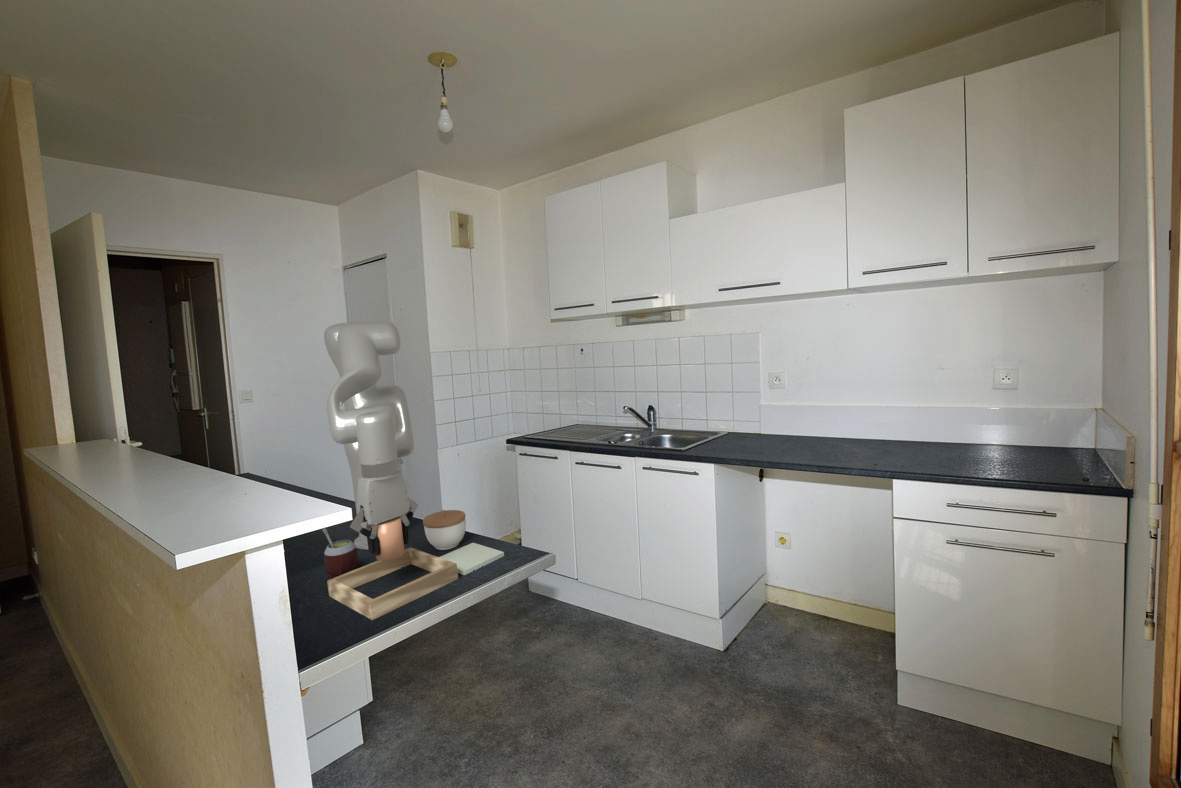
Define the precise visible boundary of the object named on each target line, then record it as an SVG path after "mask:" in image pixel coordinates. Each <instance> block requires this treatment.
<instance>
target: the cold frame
mask: <svg viewBox="0 0 1181 788" xmlns="http://www.w3.org/2000/svg"><path fill="white" fill-rule="evenodd" d="M439 557H440V556H437V555H433V554H430V553H428V552H425V551H422V550H419V549H416V548H413V547H409V548H406V549H405V553H404V555H402V556H401V557H399V558H396V559H393V560H388V561H380V560H376V561H373V562H370V563H368V564H366V565H363V566H361V567H359V568H358V567H357V569H355V570H353V571H350V572H348V573H345V574H343V575H340V576H338V577H335V578H333V579H330V580H329V579H328V580H327V581H326V582H327V583H326V584H327V590H328V596H329V598H332V599H333V600H336V601H337V602H339V603H341V604H342V605H344V606H346V607H348V608H349V609H351V610H353V611H355V612H356V613H358V614H361V615H362V616H364V617H366V618H368V619H369V620H370V621H374V620H376V619H378V618H380V617H382V616H384V615H386V614H388V613H391V612H393V611H395V610H396V609H399V608H401V607H403V606H405V605H407V604H409V603H411V602H413V601H416V600H417V599H419V598H421V597H424V596H425V595H428V594H430V593H431V592H434V591H436V590H438V589H440V588H443V587H444V586H446V585H448V584H451V583H453V582H454V581H456V580H459V573H458V571H457V564H456V563H453V562H450V561H447V560H445V559H442V558H439ZM410 565H412V566H415V567H418V568H420V569H423V570H426V571H428V572H429V573H427V574H425V575H423V576H420V577H419V578H416V579H414V580H412V581H410V582H408V583H405V584H404V585H401V586H399V587H396V588H394V589H392V590H389V591H388V592H385V593H383V594H381V595H379V596H377V597H375V598H374V597H373V598H372V597H370V596H367V595H366V594H364V593H362V592H360V591H358V590H356V589H355V588H358V587H360V586H363V585H364V584H367V583H369V582H371V581H374V580H377V579H379V578H381V577H383V576H386V575H388V574H391V573H393V572H396V571H397V570H400V569H403V568H405V567H407V566H410ZM402 567H403V568H402Z"/></svg>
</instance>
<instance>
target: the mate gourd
mask: <svg viewBox="0 0 1181 788" xmlns="http://www.w3.org/2000/svg"><path fill="white" fill-rule="evenodd" d="M322 533H324V534H325V537H326V539H327V541H328V542H329V544H328V545H327V546H326V548H325V550H324V554H323V562H324V566H325V570H326V572H327V575H328V576H329V577H328V580H330V579H333V578H335V577H338V576H340V575H343V574H345V573H348V572H350V571H353V570H355V569H358V565H359V558H358V557H359V556H358V550H357V549H358V548H356V547H355V544H354V542H353V541H351V540H349V539H341V540H337V541H332V539H331V537H330V535H329V531H328V529H327V528H325V527H324V528H323V529H322Z"/></svg>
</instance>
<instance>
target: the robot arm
mask: <svg viewBox="0 0 1181 788" xmlns="http://www.w3.org/2000/svg"><path fill="white" fill-rule="evenodd" d="M323 333H324V334H323V338H324V343H325V344H324V345H325V347H326V350H327V353H328V356H329V357H330V358H329V359H331V361H332V363H333V365H334V367H335V368H336V370H337V372H338V375H339V377H340V378H339V379H338V380H337V381H336V382H335V383H334V385H333V386H332V388H331V389H330V392H329V394H328V397H327V403H326V410H327V411H326V412H327V418H328V419H327V421H328V426H329V431H330V436H331V437H332V439H333V441H334V442H336V443H337V444H340V445H343V448H344V452H345V455H346V459H347V462H348V466H349V470H350V475H351V482H352V487H353V495H354V496H353V498H354V504H355V512H356V516H355V518H354V519H353V520H352V522H351V524H350V525H349V528H350V529H351V530H354V531H355V532H358V537H357V538H355V539H354V542H353V543H354V544H355V547H356V549H358V550H367V551H368V552H369V553H370V554H371V555H374V556H375V557H376V556H378V555H380V554H381V553H380V545H379V538H378V537H376V533H377V529H378V524H380V523H383V522H386V521H389V520H392V519H395V518H397V517H401V523H402V532H403V540H404V545H408V544H409V538H410V535H409V527H408V526H409V525H410V523H411V522H410V521H411V519H413V516H414V514H415V512H416V511H417V509H418V507H419V503H417V502H416V501H414V500H412V499H411V498H409V492H408V487H407V483H406V480H405V477H404V475H403V472H402V470H400V466H401V465H403V464H404V459H403V458H405V457H408V456H410V455H412V454H413V451H414V449H415V448H414V447H415V444H414V443H415V440H414V434H413V428H412V422H411V416H410V411H409V410H410V409H409V404H408V400H407V396H406V393H405V391H404V389H403V388H402V387H401V386H399V385H393V384H391V385H380V386H377V385H376V384H377V383H378V382H380V380H381V378H382V375H383V374H382V369H381V364H380V359H379V356H387V355H389V356H390V355H396V354H398V353H399V352H400V349H401V337H400V333H399V331H398V328H397V326H396V325H395V324H394V323H393V322H391V321H389V320H373V321H370V320H369V321H355V322H354V321H352V322H351V321H350V322H341V323H335V324H332V325H330V326H327V328H326V329H325V330H324V332H323ZM342 405H344V410H342V409H341V407H342Z"/></svg>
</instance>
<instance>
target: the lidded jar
mask: <svg viewBox="0 0 1181 788" xmlns="http://www.w3.org/2000/svg"><path fill="white" fill-rule="evenodd" d="M466 522H467V521H466V513H465V512H464V511H462V510H459V509H457V510H456V509H448V510H446V509H442V510H441V511H437V512H433V513H431V514H429V515H427V516H425V517H424V518H423V520H422V524H423V528H424V530H423V531H424V534H425V536H426V539H427V541H428V542H429V544H430V545H432V546H433V547H434V548H435V549H436V550H440V551H445V550H451V549H453V548H457V547H458V546H459V545H460V542H461V541H462V540H463V539H464V536H465V534H466V526H467V524H466ZM457 545H458V546H457Z"/></svg>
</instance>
